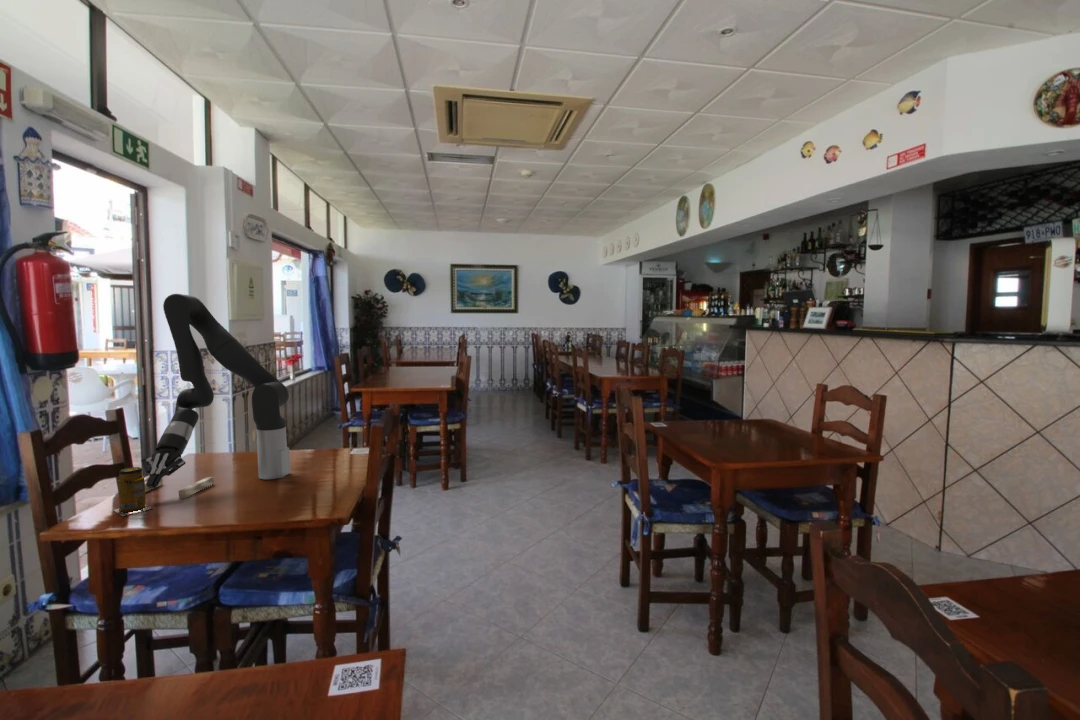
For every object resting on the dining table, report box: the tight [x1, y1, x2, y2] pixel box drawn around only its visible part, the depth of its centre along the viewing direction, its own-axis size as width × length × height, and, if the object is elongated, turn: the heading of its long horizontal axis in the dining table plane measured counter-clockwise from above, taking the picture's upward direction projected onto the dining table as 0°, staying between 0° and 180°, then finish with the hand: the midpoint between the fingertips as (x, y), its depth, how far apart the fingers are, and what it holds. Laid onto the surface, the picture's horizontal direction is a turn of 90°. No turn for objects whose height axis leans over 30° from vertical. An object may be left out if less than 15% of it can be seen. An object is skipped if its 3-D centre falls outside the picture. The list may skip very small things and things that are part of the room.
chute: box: [144, 476, 214, 499], centre depth 166 cm, size 14×19×2 cm
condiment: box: [113, 466, 149, 517], centre depth 149 cm, size 7×8×12 cm
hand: (150, 487), depth 156 cm, fingers closed
